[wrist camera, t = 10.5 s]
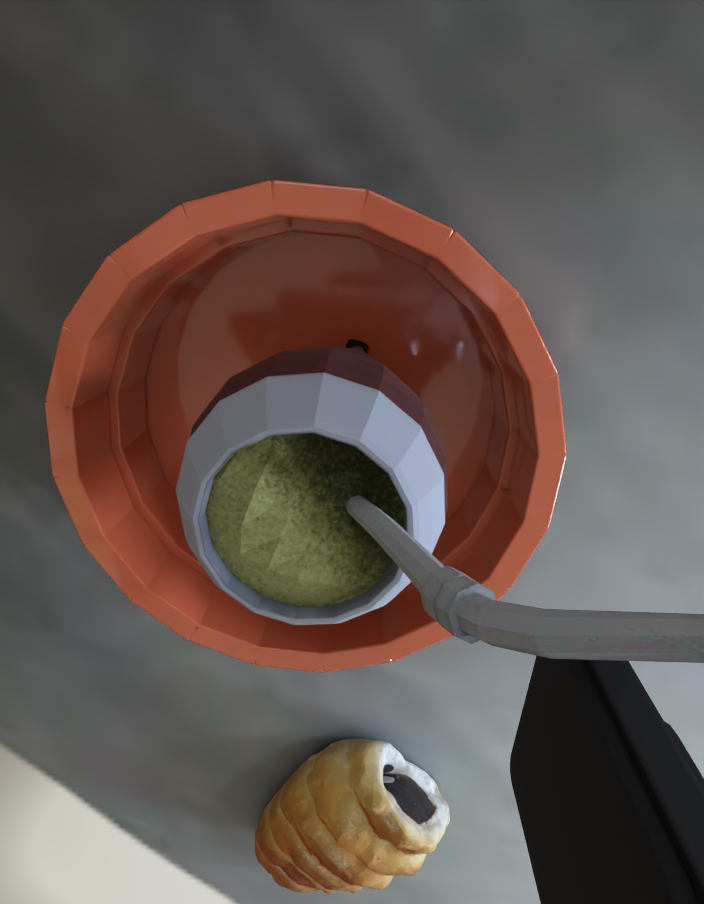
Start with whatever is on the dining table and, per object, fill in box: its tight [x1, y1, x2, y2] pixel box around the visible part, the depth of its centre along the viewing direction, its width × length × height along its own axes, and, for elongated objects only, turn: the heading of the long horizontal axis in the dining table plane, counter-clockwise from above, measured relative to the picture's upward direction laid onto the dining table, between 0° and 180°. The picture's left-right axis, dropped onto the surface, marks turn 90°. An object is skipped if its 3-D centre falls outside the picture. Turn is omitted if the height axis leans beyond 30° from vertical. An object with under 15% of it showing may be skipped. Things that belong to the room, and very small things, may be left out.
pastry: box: [255, 737, 450, 894], centre depth 26 cm, size 9×7×4 cm
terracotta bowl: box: [45, 180, 567, 672], centre depth 18 cm, size 15×15×5 cm
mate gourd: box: [176, 339, 704, 663], centre depth 13 cm, size 8×8×15 cm
